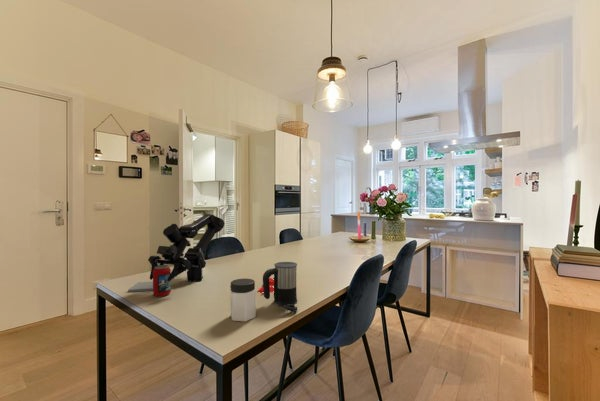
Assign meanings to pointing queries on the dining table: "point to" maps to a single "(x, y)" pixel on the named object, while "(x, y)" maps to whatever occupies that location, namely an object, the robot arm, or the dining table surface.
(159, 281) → the beverage can
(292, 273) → the milk frother
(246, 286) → the jar
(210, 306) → the dining table surface
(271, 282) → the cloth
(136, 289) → the trivet
